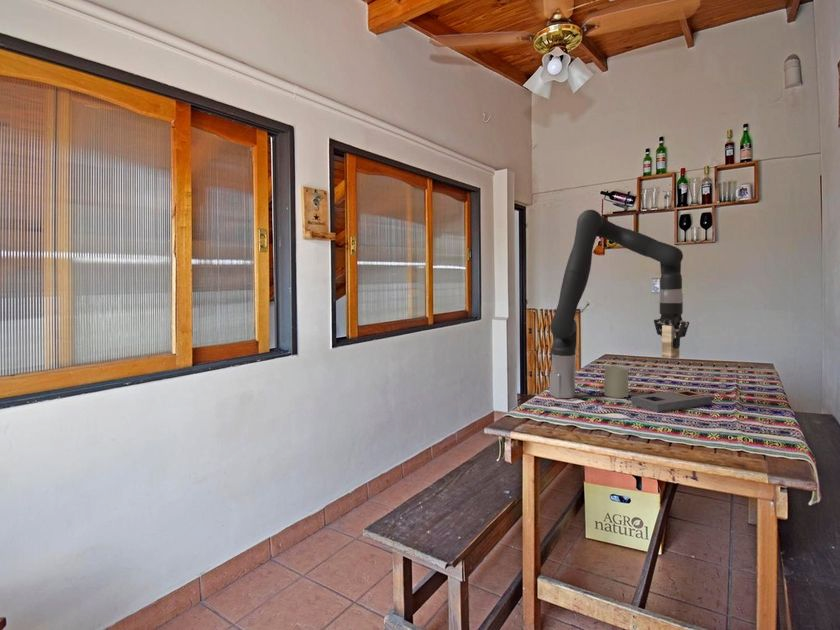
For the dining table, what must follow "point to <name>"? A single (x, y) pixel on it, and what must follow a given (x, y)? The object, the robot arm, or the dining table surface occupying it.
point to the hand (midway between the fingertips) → (670, 347)
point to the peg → (668, 343)
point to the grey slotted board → (671, 400)
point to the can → (616, 381)
